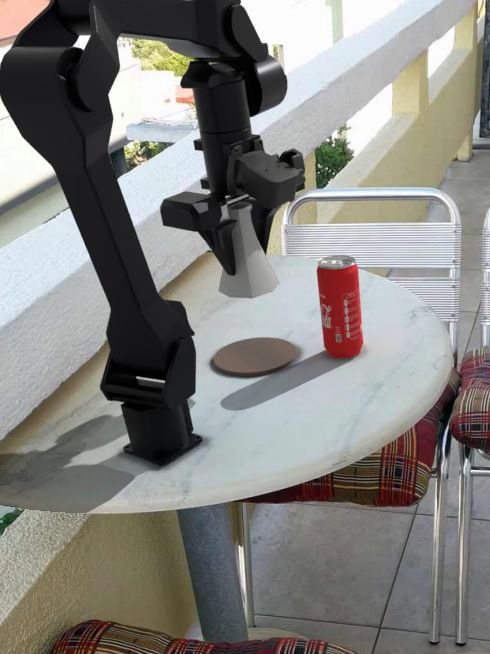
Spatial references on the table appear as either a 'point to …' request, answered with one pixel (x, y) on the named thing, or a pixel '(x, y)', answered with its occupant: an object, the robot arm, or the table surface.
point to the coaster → (255, 356)
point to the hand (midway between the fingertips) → (246, 268)
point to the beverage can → (340, 306)
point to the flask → (247, 259)
